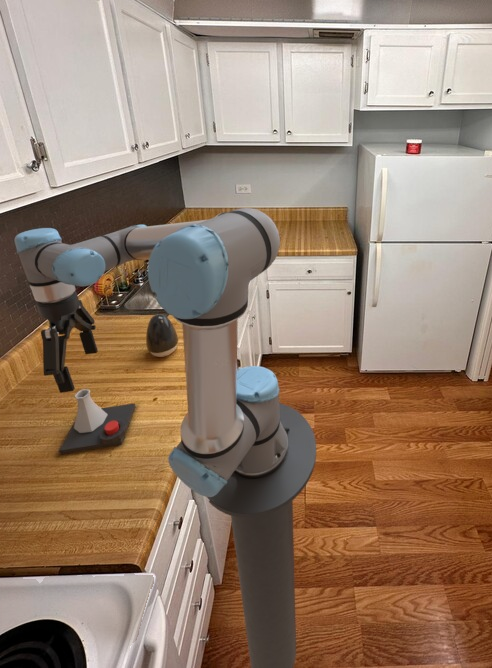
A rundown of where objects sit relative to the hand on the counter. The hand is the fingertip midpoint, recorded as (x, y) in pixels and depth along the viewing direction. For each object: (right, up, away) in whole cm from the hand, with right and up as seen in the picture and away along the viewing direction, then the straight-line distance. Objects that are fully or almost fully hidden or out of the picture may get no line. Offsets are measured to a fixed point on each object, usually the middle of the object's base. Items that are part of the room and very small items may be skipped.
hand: (80, 370), depth 83 cm
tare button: (+6, -17, +3) cm, 18 cm away
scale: (+1, -18, +6) cm, 19 cm away
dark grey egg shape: (+5, -7, +35) cm, 36 cm away
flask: (-2, -16, +6) cm, 18 cm away
